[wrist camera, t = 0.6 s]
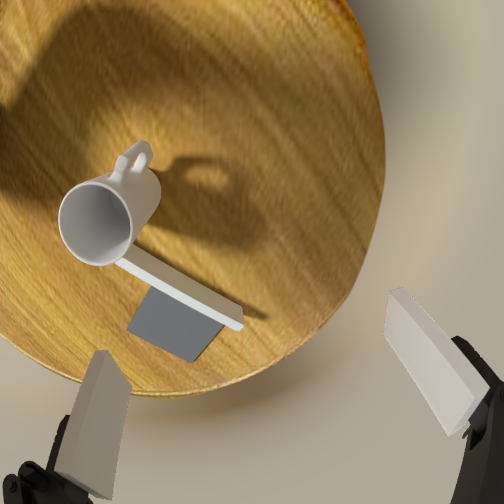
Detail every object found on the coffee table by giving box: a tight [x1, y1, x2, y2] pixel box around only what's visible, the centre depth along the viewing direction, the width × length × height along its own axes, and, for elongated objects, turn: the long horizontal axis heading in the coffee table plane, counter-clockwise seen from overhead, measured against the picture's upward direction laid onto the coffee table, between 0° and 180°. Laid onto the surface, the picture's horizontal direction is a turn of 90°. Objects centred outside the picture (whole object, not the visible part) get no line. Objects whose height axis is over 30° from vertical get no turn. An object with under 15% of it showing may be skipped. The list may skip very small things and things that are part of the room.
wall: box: [115, 244, 244, 332], centre depth 32 cm, size 22×1×4 cm, turn 54°
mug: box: [58, 140, 161, 266], centre depth 24 cm, size 10×7×12 cm, turn 149°
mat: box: [127, 286, 224, 363], centre depth 37 cm, size 11×11×1 cm
